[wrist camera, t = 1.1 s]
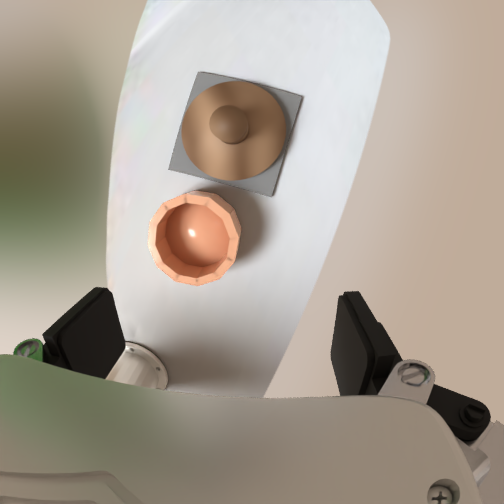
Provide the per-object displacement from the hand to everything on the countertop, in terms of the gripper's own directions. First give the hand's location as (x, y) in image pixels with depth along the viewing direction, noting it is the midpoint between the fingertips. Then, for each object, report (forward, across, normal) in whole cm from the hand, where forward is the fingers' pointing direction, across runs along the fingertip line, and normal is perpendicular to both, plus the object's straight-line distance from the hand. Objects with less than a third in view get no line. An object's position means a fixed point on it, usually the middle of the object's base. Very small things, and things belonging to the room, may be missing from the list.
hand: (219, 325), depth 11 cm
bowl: (+27, +7, +3) cm, 28 cm away
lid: (+27, +2, -10) cm, 29 cm away
